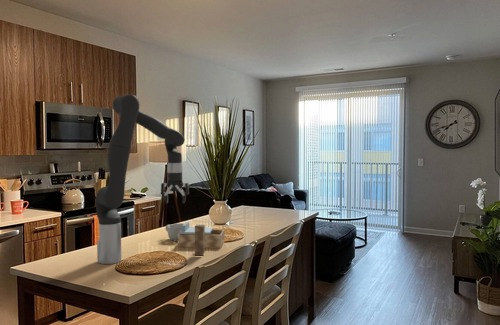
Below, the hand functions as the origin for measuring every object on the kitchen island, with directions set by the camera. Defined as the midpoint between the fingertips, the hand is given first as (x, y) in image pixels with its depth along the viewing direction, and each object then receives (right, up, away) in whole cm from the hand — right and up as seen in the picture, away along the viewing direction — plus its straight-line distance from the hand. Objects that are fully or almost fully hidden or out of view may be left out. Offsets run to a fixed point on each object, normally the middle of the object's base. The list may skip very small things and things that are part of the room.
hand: (175, 202), depth 193 cm
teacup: (-3, -22, +14) cm, 26 cm away
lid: (+11, -15, +1) cm, 19 cm away
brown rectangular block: (+15, -23, -16) cm, 32 cm away
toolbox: (+14, -22, +1) cm, 26 cm away
